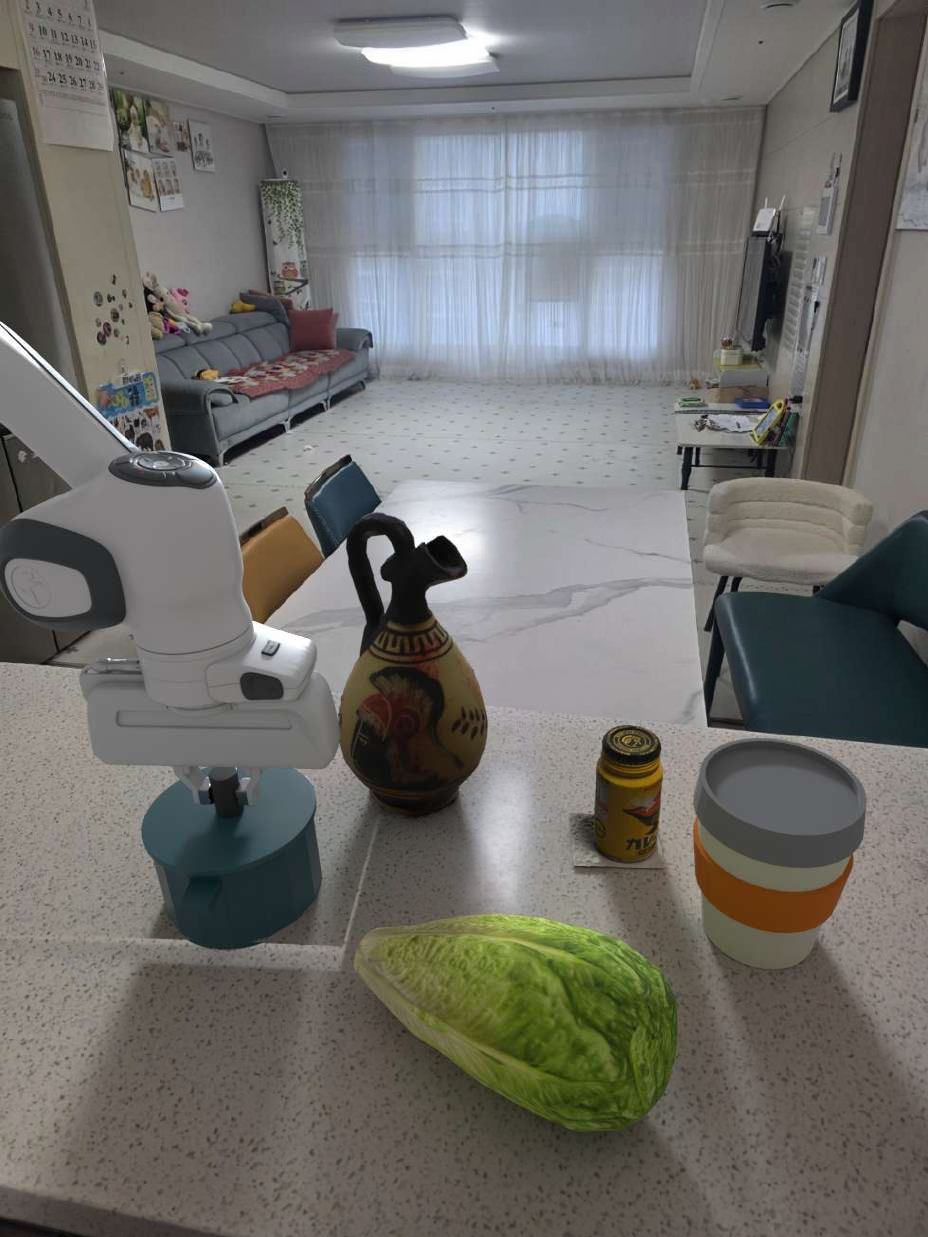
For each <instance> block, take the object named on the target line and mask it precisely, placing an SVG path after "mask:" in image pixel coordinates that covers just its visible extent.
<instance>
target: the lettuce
mask: <svg viewBox="0 0 928 1237" xmlns="http://www.w3.org/2000/svg"><path fill="white" fill-rule="evenodd" d="M353 968H354V970H355V972H356V974H357V975H358V976H359V978H360V980H361V981H362V982H363V983H364V984H365V986H366V987H367V988H368V989H369V990H370V991H371V992H372V993H373V994H374V995H375V996H376V997H377V998H378V999H379V1000H380V1001H381V1002H382V1003H383V1004H384V1005H385V1007H386V1008H387V1009H388V1010H389V1011H390V1012H391V1014H393V1015H394V1017H396V1018H397V1020H399V1021H400V1022H401V1023H402V1024H403V1026H404V1027H405V1028H407V1030H409V1032H410V1033H411V1034H412V1035H413V1036H415V1037H416V1038H418V1039H419V1040H421V1041H423V1042H424V1043H426V1044H427V1045H429V1046H430V1047H432V1048H433V1049H435V1050H436V1051H438V1052H439V1053H441V1054H443V1056H445V1057H446V1058H448V1059H449V1060H450V1061H451V1062H452V1063H454V1064H455V1065H456V1066H458V1067H459V1068H460V1069H461V1070H463V1071H464V1072H465V1073H466V1074H468V1075H469V1076H470V1077H472V1078H473V1079H474V1080H475V1081H476V1082H477V1083H480V1084H481V1085H483V1086H485V1087H486V1088H488V1089H490V1090H492V1091H493V1092H495V1093H497V1094H499V1095H500V1096H502V1097H504V1098H506V1099H508V1100H510V1101H511V1102H513V1103H515V1104H516V1105H518V1106H520V1107H522V1108H523V1109H526V1110H527V1111H529V1112H531V1113H533V1114H535V1115H537V1116H539V1117H542V1118H543V1119H546V1120H548V1121H550V1122H553V1123H554V1124H556V1125H559V1126H561V1127H564V1128H566V1129H567V1130H568V1129H569V1130H570V1131H572V1132H575V1133H584V1132H585V1133H586V1132H588V1133H589V1132H607V1131H608V1132H609V1131H610V1132H611V1131H624V1130H625V1129H627V1128H628V1127H630V1126H632V1125H634V1124H635V1123H636V1122H638V1121H639V1120H641V1119H642V1118H644V1117H645V1116H647V1115H648V1114H649V1113H650V1112H651V1110H653V1108H654V1107H655V1106H656V1104H657V1103H658V1102H659V1101H660V1100H661V1098H663V1096H664V1094H665V1092H666V1090H667V1087H668V1085H669V1082H670V1080H671V1077H672V1072H673V1068H674V1065H675V1062H676V1055H677V1048H678V1037H679V1020H678V1016H679V1015H678V1001H677V997H676V995H675V993H674V991H673V990H672V987H671V986H670V983H669V981H668V980H667V978H666V975H665V974H664V972H663V970H662V969H661V968H660V967H658V966H657V965H656V964H655V963H653V962H652V961H650V960H649V959H647V957H645V956H643V955H642V954H641V953H639V952H638V951H636V950H635V949H634V948H632V947H631V946H629V945H628V944H627V943H625V942H624V941H623V940H621V939H620V938H619V939H618V938H616V937H614V936H611V935H608V934H605V933H602V932H600V931H596V930H595V929H594V930H593V929H590V928H587V927H582V926H578V925H573V924H570V923H565V922H560V921H557V920H552V919H547V918H543V917H539V916H528V915H518V914H506V913H486V914H485V913H483V914H469V915H459V916H453V917H448V918H442V919H436V920H431V921H426V922H421V923H417V924H414V925H398V926H397V925H394V926H384V927H383V926H382V927H376V928H374V929H372V930H370V931H368V932H367V933H365V935H364V936H363V937H362V939H361V940H360V942H359V944H358V947H357V948H356V950H355V955H354V958H353Z"/></svg>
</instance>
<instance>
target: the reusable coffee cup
mask: <svg viewBox="0 0 928 1237" xmlns="http://www.w3.org/2000/svg"><path fill="white" fill-rule="evenodd" d="M692 798H693V799H692V804H693V805H692V806H693V809H694V813H695V815H696V817H695V818H694V819H695V820H694V822H693V827H692V828H693V829H692V834H693V835H692V836H693V837H692V838H693V859H694V860H693V861H694V862H693V863H694V876H695V880H696V883H697V885H698V888H699V890H700V900H701V902H700V903H701V921H702V926H703V928H704V929H703V930H704V931H705V933H706V935H707V937H708V938H709V940H710V941H711V942H712V943H713V945H714V946H716V947H717V949H718V950H720V951H721V952H722V953H724V955H726V956H727V957H728V958H730V959H733V960H735V961H737V962H738V963H741V964H743V965H747V966H749V967H752V968H757V969H763V970H782V969H788V968H791V967H793V966H794V967H795V966H797V965H798V964H799V963H802V962H803V961H804V960H805V959H806V958H807V957H808V956H809V955H810V953H811V951H812V949H813V947H814V945H815V942H816V940H817V937H818V935H819V932H820V931H821V928H822V926H823V924H824V923H826V922H827V921H828V920H829V918H831V917H832V916H833V914H834V911H835V909H836V908H837V905H838V904H839V901H840V898H841V896H842V894H843V891H844V889H845V887H846V884H847V882H848V880H849V877H850V875H851V873H852V870H853V866H854V853H855V852H856V851H857V850H858V849H859V848H860V846H861V844H862V842H863V840H864V834H865V826H866V825H865V824H866V814H867V813H866V812H867V799H868V798H867V794H866V790H865V788H864V786H863V784H862V782H861V781H860V779H859V778H858V777H857V775H856V774H855V773H854V772H853V771H852V770H851V769H850V768H849V767H847V766H846V765H845V764H843V763H842V762H841V761H840V760H838V759H837V758H835V757H833V756H831V755H829V754H828V753H825V752H823V751H821V750H820V749H819V750H818V749H817V748H815V747H811V746H808V745H805V744H803V743H799V742H795V741H790V740H786V739H777V738H770V737H752V738H741V739H736V740H732V741H729V742H726V743H724V744H721V745H718V746H717V747H715V748H714V749H712V750H711V751H709V752H708V753H707V755H706V756H705V757H704V758H703V760H702V763H701V765H700V767H699V772H698V776H697V779H696V783H695V787H694V791H693V797H692Z"/></svg>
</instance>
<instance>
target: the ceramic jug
mask: <svg viewBox="0 0 928 1237" xmlns="http://www.w3.org/2000/svg"><path fill="white" fill-rule="evenodd" d="M378 536H386V537H387V539H388V540H389V542H390V543H391V546H392V548H393V551H394V552H393V553H392V554H391V555H390V556H389V557H387V558H386V559H385V561H384V562H383V563H382V565H381V566H380V569H379V573H380V578H381V579H382V580H383V581H384V582H388V583H390V584H391V596H390V601H389V603H388V605H387V609H386V610H385V606H384V603H383V600H382V596H381V593H380V591H379V589H378V586H377V583H376V579H375V574H374V571H373V568H372V564H371V561H370V558H369V557H368V552H367V549H368V540H369V539H371V538H372V537H378ZM345 542H346V543H345V551H346V555H347V559H348V560H347V565H348V566H347V567H348V570H349V574H350V576H351V579H352V582H353V585H354V588H355V591H356V594H357V597H358V600H359V604H360V606H361V608H362V610H363V614H364V618H365V625H364V627H363V630H362V631H363V632H362V638H361V643H360V648H359V657H358V658H357V660H356V661H355V662H354V665H353V666H352V669H351V671H350V673H349V675H348V677H347V679H346V682H345V685H344V688H343V690H342V691H343V692H342V694H341V695H340V704H339V710H338V713H337V717H338V722H339V729H340V743H339V747H340V751H341V754H342V758H343V761H344V762H345V764H346V766H348V768H349V770H351V772H352V773H353V774H354V776H355V777H356V778H357V779H358V780H359V781H360V782H361V784H362V785H364V786H365V787H366V788H367V789H368V790H369V793H370V794H371V796H372V797H373V799H374V800H375V802H377V803H378V804H379V806H380V807H381V808H383V809H384V810H387V811H389V812H391V813H393V814H396V815H398V816H402V817H404V818H407V819H419V818H422V817H426V816H428V815H431V814H434V813H440V812H442V811H443V810H446V809H447V808H449V807H451V806H452V805H453V804H455V803H456V802H457V798H458V797H457V796H458V794H459V791H460V786H461V785H463V783H464V782H465V781H466V780H467V779H468V778H470V777H471V776H472V774H473V773H474V772H475V770H476V769H477V768H478V767H479V765H480V764H481V763H480V762H481V760H482V758H483V756H484V752H485V750H486V745H487V740H488V729H489V721H488V720H489V719H488V715H487V714H488V713H487V710H486V705H485V701H484V697H483V693H482V690H481V685H480V683H479V680H478V678H477V676H476V674H475V670H474V669H473V667H472V666H471V664H470V662H469V661H468V659H467V658H466V656H465V655H464V653H463V652H462V650H461V649H460V647H459V646H458V644H457V643H456V642H455V640H454V639H453V637H452V636H451V634H450V633H449V632H448V631H447V629H446V627H444V626H443V625H442V624H441V622H440V621H439V620H438V619H437V618H436V616H435V615H434V613H433V610H431V609H430V608H429V605H428V600H427V598H426V595H427V591H428V590H429V589H430V588H432V587H435V586H438V585H440V584H444V583H445V584H446V583H449V582H453V581H456V580H460V579H462V578H464V577H465V576H466V575H468V570H469V569H468V564H467V562H466V560H465V558H463V555H462V554H461V552H460V551H459V549H458V546H456V545H455V544H454V543H453V542H452V541H451V540H450V539H449V538H448V537H447V536H445V535H444V534H441V535H437V536H435V538H433V539H431V540H430V541H428V542H427V543H426V541H422V542H421V543H419V544H418V545H417V546H416V543H415V536H414V535H413V533H412V531H411V529H410V528H409V526H407V523H406V522H405V521H404V520H403V519H400V518H398V517H396V516H392V515H389V514H388V515H387V514H385V512H379V511H376V512H370V513H367V514H365V515H363V516H361V517H360V518H359V519H357V520H356V521H355V522H354V523H353V524H352V526H351V527H350V530H349V532H348V534H347V535H346V541H345Z"/></svg>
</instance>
